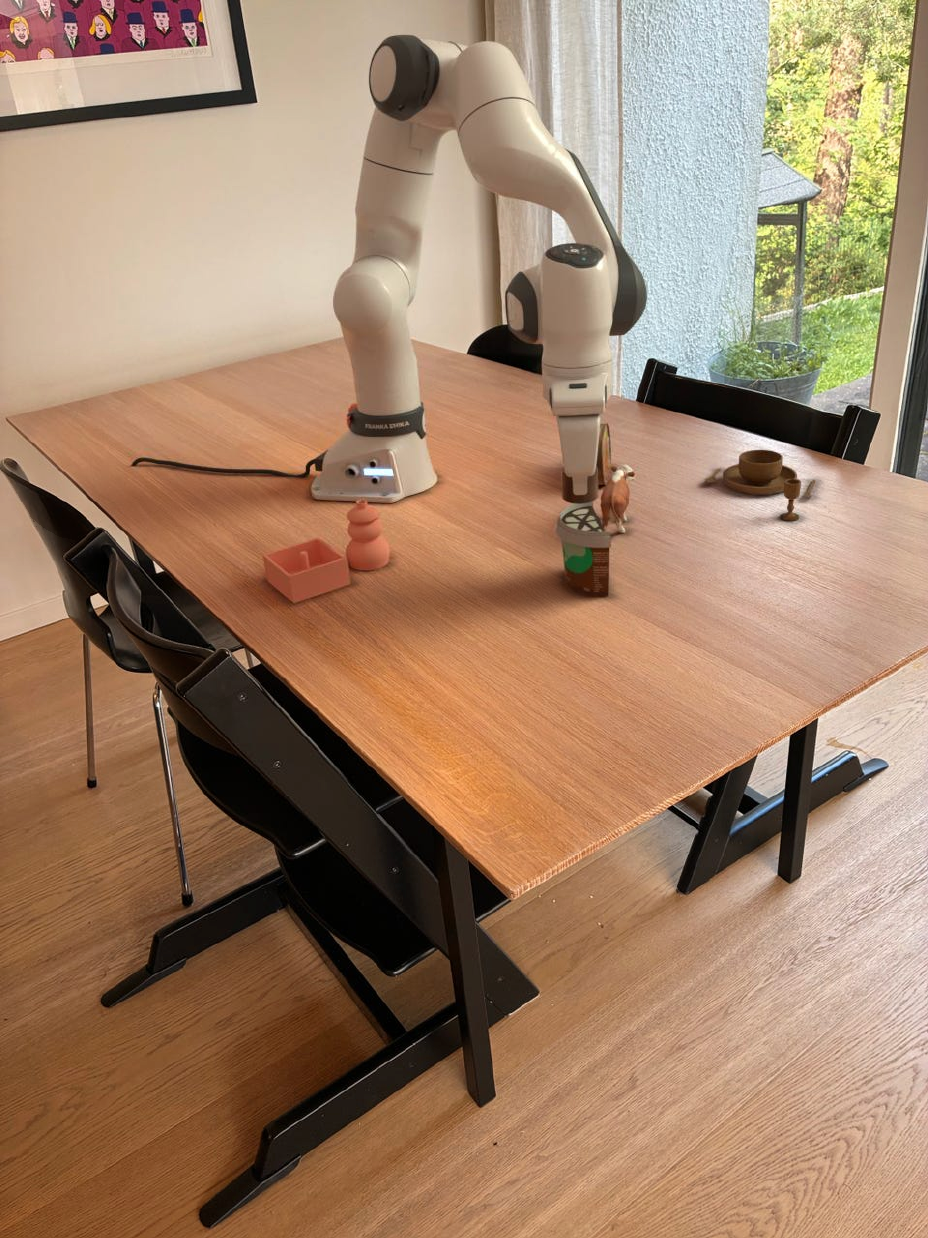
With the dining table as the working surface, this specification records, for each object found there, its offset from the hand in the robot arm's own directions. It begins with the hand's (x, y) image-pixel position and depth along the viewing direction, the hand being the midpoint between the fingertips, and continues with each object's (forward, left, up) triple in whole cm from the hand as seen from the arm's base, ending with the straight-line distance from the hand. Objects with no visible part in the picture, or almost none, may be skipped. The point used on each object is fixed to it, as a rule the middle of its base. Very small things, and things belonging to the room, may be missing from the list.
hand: (579, 484), depth 133 cm
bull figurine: (+6, +20, -15) cm, 26 cm away
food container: (0, 0, -15) cm, 15 cm away
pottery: (-36, +5, -15) cm, 39 cm away
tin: (+4, +41, -15) cm, 44 cm away
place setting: (+29, +31, -15) cm, 45 cm away
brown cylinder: (0, 0, -2) cm, 2 cm away
